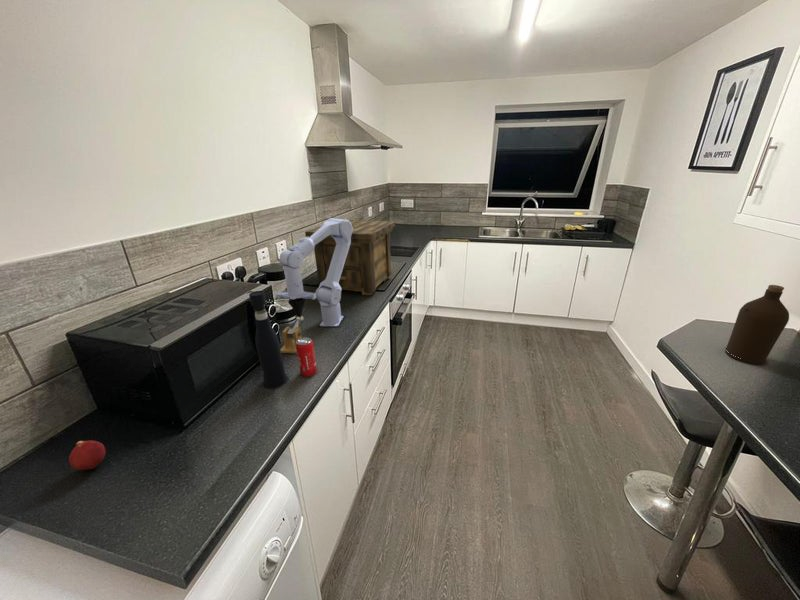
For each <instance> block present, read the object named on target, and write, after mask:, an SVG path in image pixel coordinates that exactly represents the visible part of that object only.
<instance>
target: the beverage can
mask: <svg viewBox="0 0 800 600" xmlns="http://www.w3.org/2000/svg"><path fill="white" fill-rule="evenodd" d="M296 350H297V353H296V356H297V362H298V368H299V373H300V374H301V375H302V376H303V377H306V378H308V377H312V376H314V375H315V374H316V373H317V361H316V356H315V348H314V342H313V340H312V338H311V337H309V336H304V337H303V336H302V338H300V339H298V340H297V341H296Z"/></svg>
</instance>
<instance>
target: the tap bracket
mask: <svg viewBox="0 0 800 600" xmlns="http://www.w3.org/2000/svg"><path fill="white" fill-rule="evenodd" d="M289 329H291V327H290V326H286V327H285V328H284V329H283V330H282V332H281V334H282V340H283V345H282V347H280V350H281V354H297V350H296V341H297V340H298V339H300V338H303V336H302V329H301V326H298V327H297V328H296V329H295V330H294V332H293V336H294V339H290V338H288V335H287V333H288V331H289Z"/></svg>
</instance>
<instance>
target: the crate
mask: <svg viewBox="0 0 800 600" xmlns="http://www.w3.org/2000/svg"><path fill="white" fill-rule="evenodd" d="M348 220H349V219H348ZM349 221H350V222H351V224H352V227H353V232H352V235H351V243H350V247H349V250H348V254H347V257H346V260H345V264H344V267H343V270H342V273H341V277H340V280H339V285H340V287H341V289H342V290H341V291H354V292H361V295H362V296H372V295H373V293H375V292H376V291H377V287H379V285H380V284H382V283H385V282H386V281H387V278H390V276H392V252H391V251H392V249H391V232H392V231H393V228H394V227H395V226H396V221H386V220H385V221H384V220H353V219H352V220H351V219H350V220H349ZM322 226H323V225H321V226H318V227H314V228H312V229H309V230H306V231H304V234H305V238H309V237H310V236H312V235H313V234H314V233H315V232H316V231H317V230H318V229H319V228H320V227H322ZM335 247H336V241H335V240H334V238H333V237H332V236H331V235H329V236H327V237H326V238H325V239H323V240H322V241H320V242H319V243H317V244H316V245H315V249H314V251H313V252H314V258H315V265H316V272H317V280H318V281H317V282H318V287H319V286H320V283H321V282H323V281H324V280H325V279H326V277H327V273H328V270H329V267H330V263H331V260H332V257H333V254H334V250H335ZM330 289H332V288H330Z"/></svg>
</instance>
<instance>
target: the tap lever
mask: <svg viewBox="0 0 800 600" xmlns="http://www.w3.org/2000/svg"><path fill="white" fill-rule="evenodd" d="M295 320H296V322H295V323H294V325H293V327H292V328H290V329H289V331H288V333H287V335H288V338H290V339H292V340H294V336H293V332H294V330H295V329H296V328H297V327H300V324H301V323H303V322H304V321H305V316H304V315H302V316H301V317H297V316H296V318H295Z"/></svg>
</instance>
